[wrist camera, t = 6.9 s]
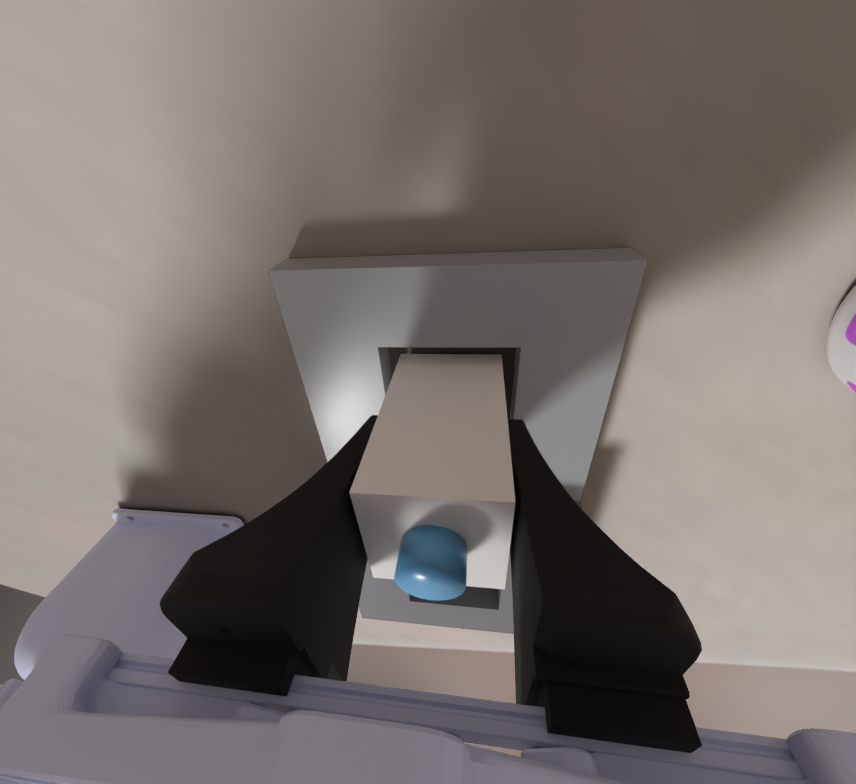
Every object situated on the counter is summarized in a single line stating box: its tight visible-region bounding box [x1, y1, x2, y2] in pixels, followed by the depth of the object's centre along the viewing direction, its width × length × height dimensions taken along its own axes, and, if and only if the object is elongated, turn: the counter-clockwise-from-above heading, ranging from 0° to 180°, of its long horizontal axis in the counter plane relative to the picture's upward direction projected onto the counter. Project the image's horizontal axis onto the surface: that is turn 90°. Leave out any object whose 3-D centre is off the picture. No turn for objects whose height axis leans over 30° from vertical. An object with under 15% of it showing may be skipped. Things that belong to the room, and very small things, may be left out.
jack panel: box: [268, 248, 648, 634], centre depth 18 cm, size 12×22×3 cm, turn 3°
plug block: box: [349, 354, 515, 601], centre depth 12 cm, size 4×4×8 cm
